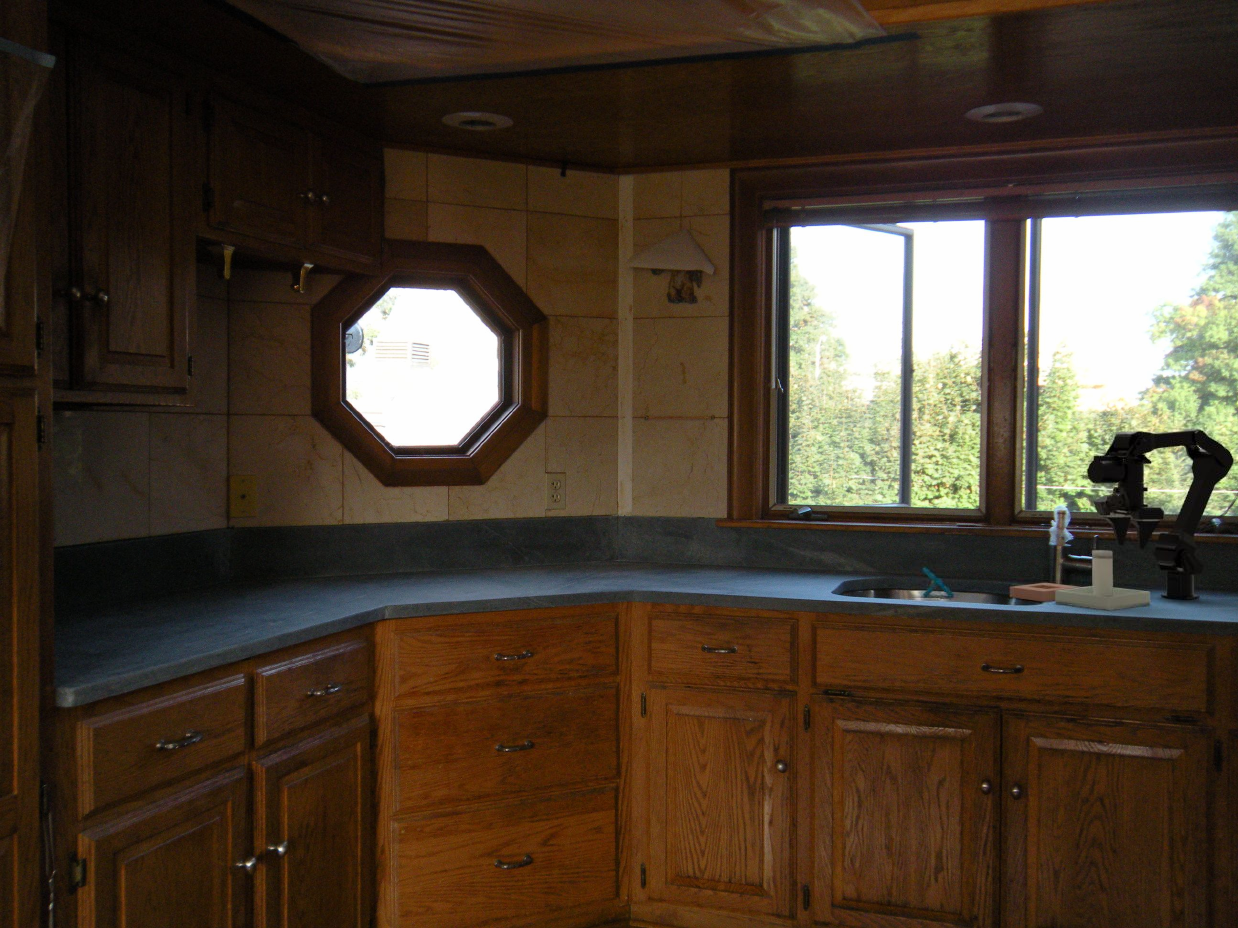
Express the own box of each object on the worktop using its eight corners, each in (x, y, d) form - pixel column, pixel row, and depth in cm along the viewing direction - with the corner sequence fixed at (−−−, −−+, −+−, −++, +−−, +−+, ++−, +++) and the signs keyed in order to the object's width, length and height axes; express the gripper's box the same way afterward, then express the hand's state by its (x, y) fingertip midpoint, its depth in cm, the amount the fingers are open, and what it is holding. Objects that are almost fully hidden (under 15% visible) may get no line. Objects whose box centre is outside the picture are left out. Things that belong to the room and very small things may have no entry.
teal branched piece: (958, 593, 256) (927, 564, 258) (940, 610, 256) (910, 581, 258) (953, 593, 266) (924, 565, 269) (937, 609, 267) (908, 581, 269)
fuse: (1099, 599, 250) (1099, 549, 250) (1116, 601, 247) (1116, 551, 246) (1088, 600, 248) (1088, 550, 248) (1105, 603, 244) (1105, 552, 244)
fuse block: (1045, 592, 268) (1045, 582, 268) (1080, 596, 259) (1080, 586, 259) (1009, 596, 260) (1009, 586, 260) (1044, 601, 252) (1044, 591, 252)
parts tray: (1096, 597, 258) (1096, 585, 257) (1150, 604, 246) (1150, 591, 246) (1055, 603, 249) (1055, 590, 249) (1109, 610, 237) (1109, 597, 237)
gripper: (1079, 482, 260) (1079, 544, 260) (1119, 484, 242) (1119, 551, 242) (1122, 481, 261) (1122, 543, 261) (1165, 484, 242) (1165, 550, 242)
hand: (1130, 547), depth 252 cm, fingers open, 9 cm apart
